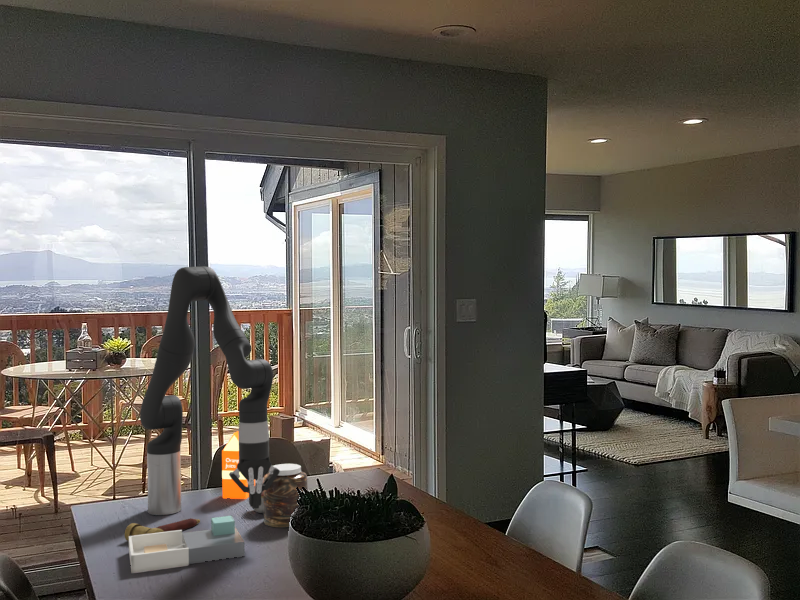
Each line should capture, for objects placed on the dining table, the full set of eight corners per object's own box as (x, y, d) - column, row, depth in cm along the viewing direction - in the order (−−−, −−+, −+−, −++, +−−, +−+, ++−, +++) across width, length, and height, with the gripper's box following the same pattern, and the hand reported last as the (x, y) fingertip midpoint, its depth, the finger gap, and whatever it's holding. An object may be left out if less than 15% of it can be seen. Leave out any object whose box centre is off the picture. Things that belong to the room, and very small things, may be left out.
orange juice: (222, 498, 235) (221, 433, 234) (233, 490, 243) (232, 428, 243) (246, 499, 233) (245, 433, 233) (256, 491, 242) (255, 428, 242)
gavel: (187, 509, 212) (213, 515, 207) (186, 526, 212) (212, 532, 207) (124, 524, 194) (151, 531, 189) (123, 543, 194) (150, 549, 189)
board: (182, 546, 190) (182, 532, 190) (235, 540, 195) (235, 526, 195) (188, 564, 178) (188, 549, 178) (244, 556, 183) (244, 541, 183)
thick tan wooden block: (166, 543, 181) (166, 556, 181) (144, 546, 180) (144, 559, 180) (167, 550, 177) (167, 563, 177) (144, 553, 175) (145, 566, 175)
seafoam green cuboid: (211, 529, 192) (211, 518, 192) (231, 527, 194) (231, 515, 194) (214, 535, 187) (214, 523, 187) (234, 533, 189) (234, 521, 189)
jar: (290, 512, 218) (290, 460, 218) (316, 521, 210) (315, 466, 210) (255, 521, 210) (255, 467, 210) (280, 531, 202) (280, 474, 202)
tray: (128, 552, 186) (128, 536, 186) (182, 545, 191) (181, 529, 191) (131, 573, 172) (131, 555, 172) (188, 565, 177) (188, 548, 177)
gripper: (276, 434, 199) (277, 501, 199) (224, 438, 194) (226, 507, 194) (283, 439, 192) (284, 508, 192) (229, 444, 187) (231, 514, 187)
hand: (255, 507), depth 193 cm, fingers closed
